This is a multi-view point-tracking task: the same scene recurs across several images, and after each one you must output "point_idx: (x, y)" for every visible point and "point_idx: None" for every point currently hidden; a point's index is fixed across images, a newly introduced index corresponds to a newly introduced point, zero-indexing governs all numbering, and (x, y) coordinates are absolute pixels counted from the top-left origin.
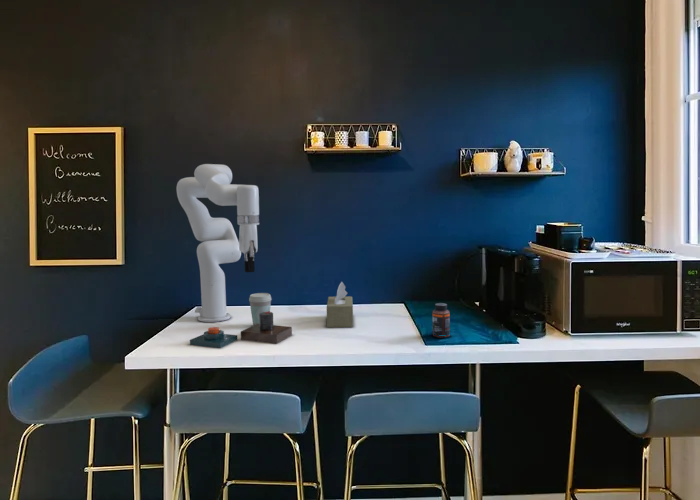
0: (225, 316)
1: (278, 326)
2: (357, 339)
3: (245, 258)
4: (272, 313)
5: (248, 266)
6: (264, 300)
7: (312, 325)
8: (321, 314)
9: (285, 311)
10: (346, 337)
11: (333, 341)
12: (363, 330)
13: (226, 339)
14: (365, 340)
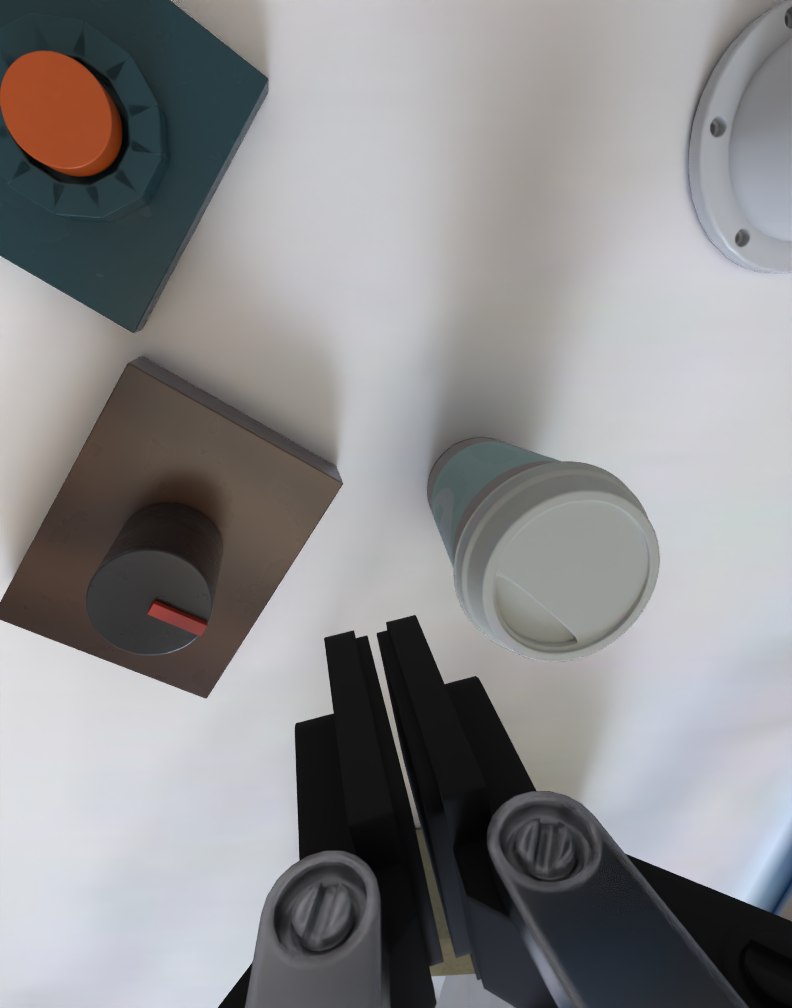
0: (753, 234)
1: (231, 621)
2: (73, 954)
3: (503, 880)
4: (142, 652)
5: (299, 781)
6: (464, 603)
7: (403, 761)
8: (618, 795)
9: (765, 620)
10: (119, 911)
11: (44, 862)
12: (242, 970)
13: (6, 245)
14: (49, 983)
